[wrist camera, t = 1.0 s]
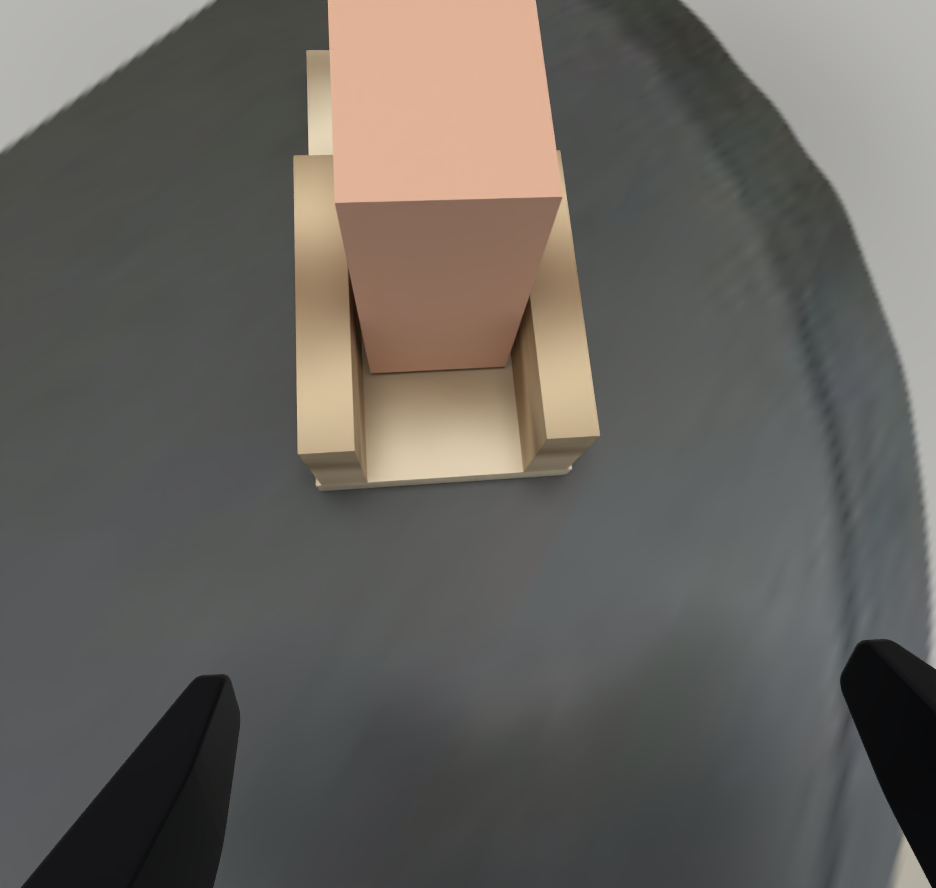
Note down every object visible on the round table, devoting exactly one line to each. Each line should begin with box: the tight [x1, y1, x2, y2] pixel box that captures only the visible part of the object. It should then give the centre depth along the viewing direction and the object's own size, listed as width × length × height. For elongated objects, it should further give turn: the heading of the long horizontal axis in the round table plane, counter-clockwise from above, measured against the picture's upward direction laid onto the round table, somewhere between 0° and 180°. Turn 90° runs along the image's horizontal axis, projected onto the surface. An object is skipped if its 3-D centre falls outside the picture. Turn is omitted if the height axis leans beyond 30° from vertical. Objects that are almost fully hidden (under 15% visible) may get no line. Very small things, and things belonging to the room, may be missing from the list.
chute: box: [294, 50, 600, 491], centre depth 24 cm, size 19×9×6 cm, turn 5°
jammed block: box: [328, 0, 563, 373], centre depth 20 cm, size 6×5×10 cm
